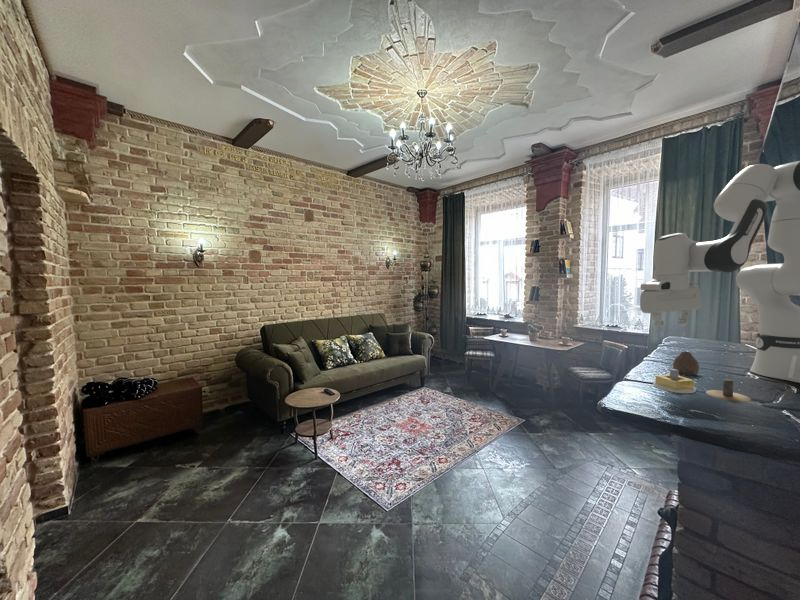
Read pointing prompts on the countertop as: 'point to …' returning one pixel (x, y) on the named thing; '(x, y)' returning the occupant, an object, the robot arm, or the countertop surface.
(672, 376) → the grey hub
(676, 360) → the vase
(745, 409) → the countertop surface
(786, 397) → the countertop surface
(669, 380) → the yellow square frame
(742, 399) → the oak stand
